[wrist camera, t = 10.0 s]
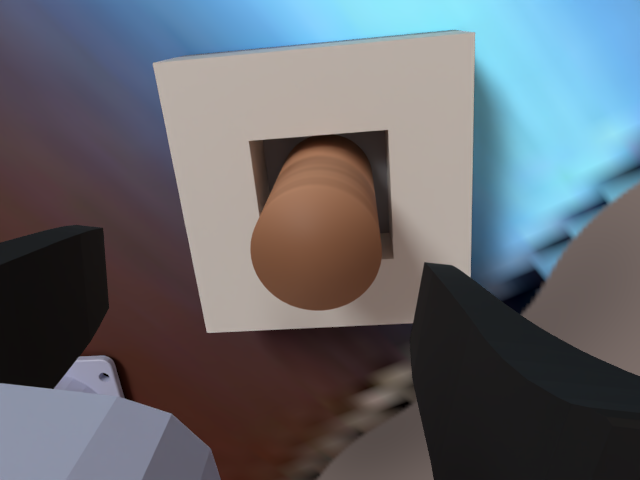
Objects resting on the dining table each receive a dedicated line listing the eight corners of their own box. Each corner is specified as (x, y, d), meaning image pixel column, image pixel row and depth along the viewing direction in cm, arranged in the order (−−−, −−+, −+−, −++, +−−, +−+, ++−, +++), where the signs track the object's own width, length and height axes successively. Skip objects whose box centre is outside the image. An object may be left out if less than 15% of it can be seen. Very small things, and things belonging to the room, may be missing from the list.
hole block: (453, 278, 23) (469, 320, 20) (226, 290, 24) (207, 332, 21) (454, 30, 19) (474, 32, 16) (185, 55, 20) (152, 62, 17)
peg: (375, 217, 21) (386, 305, 15) (288, 224, 21) (260, 314, 15) (369, 129, 20) (377, 184, 13) (276, 138, 20) (240, 196, 14)
